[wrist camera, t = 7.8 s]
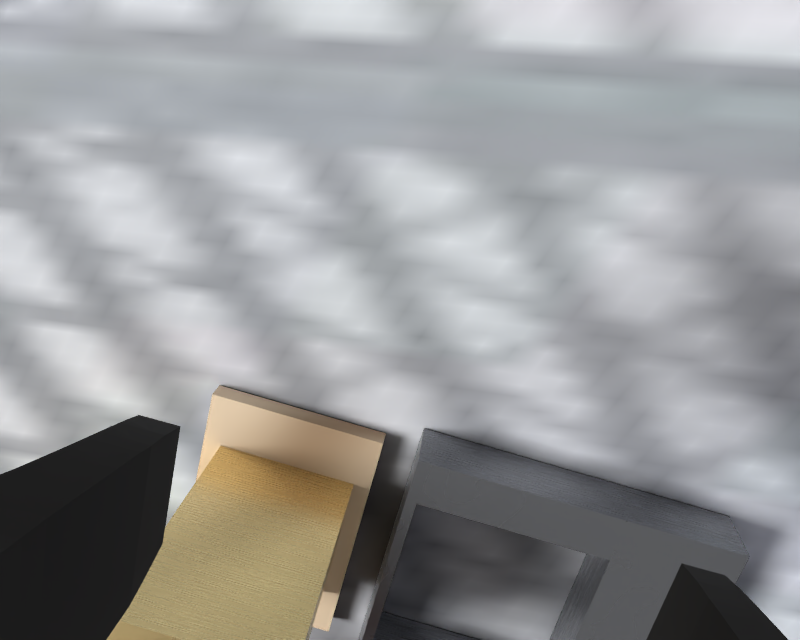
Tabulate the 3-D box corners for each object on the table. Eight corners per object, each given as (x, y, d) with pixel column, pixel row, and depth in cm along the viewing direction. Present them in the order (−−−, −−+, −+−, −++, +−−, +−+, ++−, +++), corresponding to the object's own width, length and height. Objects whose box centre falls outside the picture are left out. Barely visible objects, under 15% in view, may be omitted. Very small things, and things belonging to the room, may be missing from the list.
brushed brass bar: (353, 484, 22) (295, 673, 15) (323, 591, 23) (257, 806, 17) (220, 445, 22) (104, 616, 15) (198, 554, 23) (84, 754, 17)
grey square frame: (729, 516, 21) (749, 556, 20) (627, 717, 24) (637, 767, 23) (423, 428, 22) (418, 460, 20) (358, 638, 24) (348, 682, 23)
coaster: (386, 433, 22) (383, 443, 21) (332, 617, 24) (328, 631, 24) (219, 385, 22) (212, 394, 21) (183, 574, 24) (175, 586, 24)
